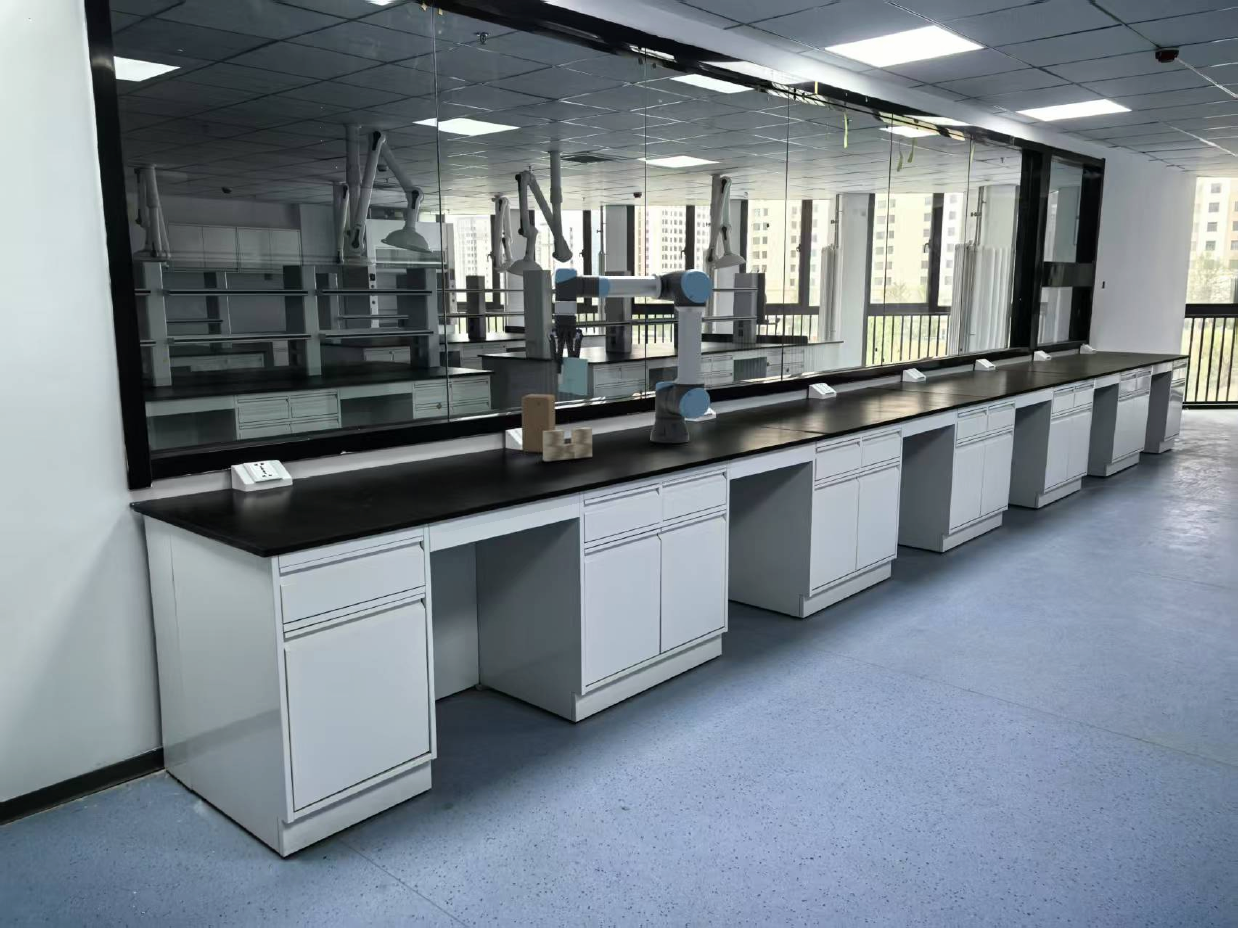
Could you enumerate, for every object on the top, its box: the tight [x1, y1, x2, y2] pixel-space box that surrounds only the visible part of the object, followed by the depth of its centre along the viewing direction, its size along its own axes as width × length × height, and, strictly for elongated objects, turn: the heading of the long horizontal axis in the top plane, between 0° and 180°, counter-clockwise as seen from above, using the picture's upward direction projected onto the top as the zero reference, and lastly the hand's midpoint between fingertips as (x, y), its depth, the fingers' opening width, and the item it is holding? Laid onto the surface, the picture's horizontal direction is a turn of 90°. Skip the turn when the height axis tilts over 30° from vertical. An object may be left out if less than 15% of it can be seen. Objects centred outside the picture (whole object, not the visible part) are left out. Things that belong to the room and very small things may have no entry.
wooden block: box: [521, 393, 556, 454], centre depth 320 cm, size 10×10×20 cm
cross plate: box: [558, 356, 589, 396], centre depth 303 cm, size 16×2×12 cm, turn 32°
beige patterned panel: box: [542, 427, 593, 462], centre depth 305 cm, size 18×2×10 cm, turn 122°
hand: (565, 383), depth 308 cm, fingers closed on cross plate, 2 cm apart
